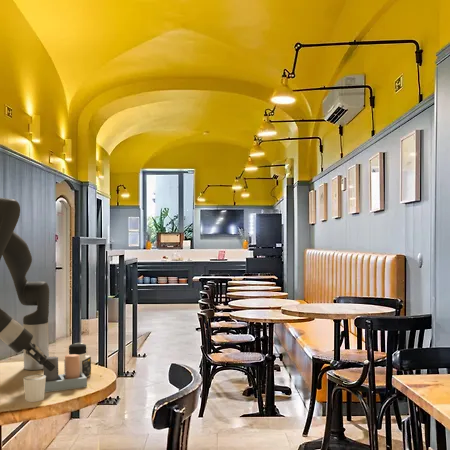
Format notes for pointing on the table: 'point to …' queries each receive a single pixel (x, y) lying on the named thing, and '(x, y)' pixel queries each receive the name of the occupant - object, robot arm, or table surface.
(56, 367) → the dark gray block
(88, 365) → the medicine bottle
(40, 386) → the white cup
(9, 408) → the table surface
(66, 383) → the grey compartment tray
